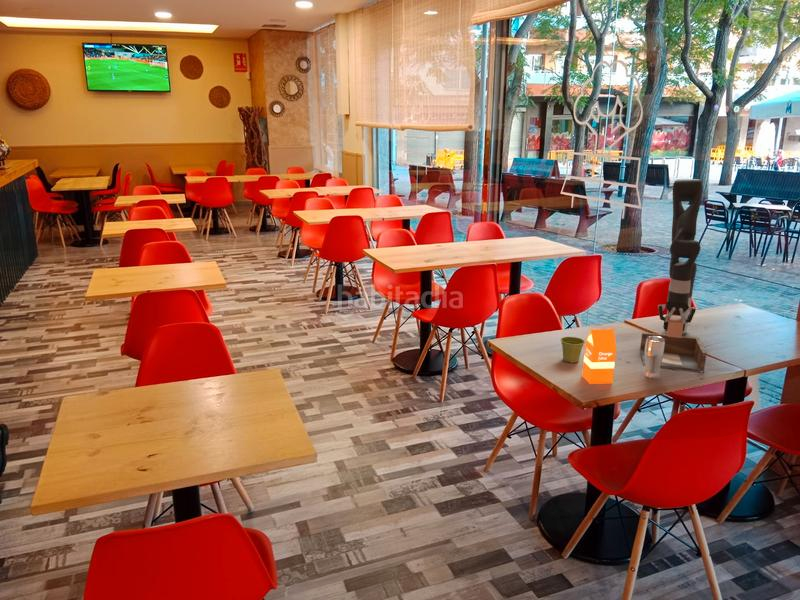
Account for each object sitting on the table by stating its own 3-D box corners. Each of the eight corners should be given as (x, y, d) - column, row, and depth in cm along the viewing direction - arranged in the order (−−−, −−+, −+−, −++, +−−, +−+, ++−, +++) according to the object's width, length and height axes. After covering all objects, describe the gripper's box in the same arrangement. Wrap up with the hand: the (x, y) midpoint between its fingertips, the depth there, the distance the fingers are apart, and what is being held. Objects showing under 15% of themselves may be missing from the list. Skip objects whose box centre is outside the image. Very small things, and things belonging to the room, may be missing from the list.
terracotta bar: (681, 337, 241) (683, 323, 239) (667, 336, 242) (669, 322, 241) (678, 330, 250) (680, 316, 248) (664, 328, 252) (666, 314, 250)
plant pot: (555, 356, 254) (557, 336, 251) (577, 355, 255) (579, 336, 252) (563, 365, 245) (565, 344, 242) (586, 364, 246) (588, 344, 243)
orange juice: (612, 383, 228) (618, 332, 222) (589, 383, 227) (594, 332, 222) (604, 375, 236) (609, 325, 230) (581, 375, 235) (586, 326, 229)
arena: (639, 350, 262) (642, 332, 259) (696, 355, 256) (698, 337, 253) (643, 365, 245) (645, 346, 243) (703, 372, 239) (706, 352, 237)
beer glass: (646, 370, 240) (651, 334, 236) (664, 375, 235) (669, 338, 231) (638, 375, 235) (642, 338, 231) (656, 380, 231) (661, 343, 226)
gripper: (660, 290, 240) (655, 332, 244) (700, 294, 236) (694, 335, 241) (658, 286, 247) (653, 326, 251) (697, 289, 243) (691, 330, 247)
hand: (673, 330), depth 246 cm, fingers closed on terracotta bar, 5 cm apart
